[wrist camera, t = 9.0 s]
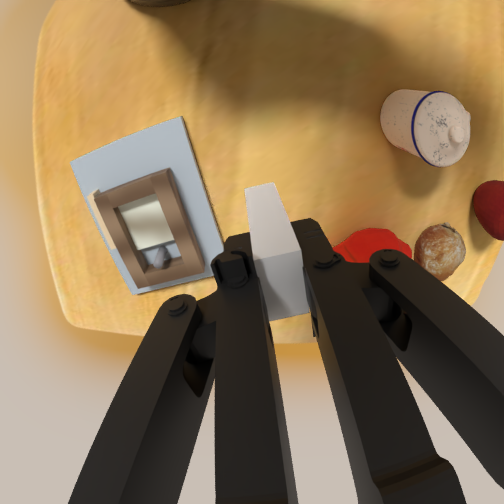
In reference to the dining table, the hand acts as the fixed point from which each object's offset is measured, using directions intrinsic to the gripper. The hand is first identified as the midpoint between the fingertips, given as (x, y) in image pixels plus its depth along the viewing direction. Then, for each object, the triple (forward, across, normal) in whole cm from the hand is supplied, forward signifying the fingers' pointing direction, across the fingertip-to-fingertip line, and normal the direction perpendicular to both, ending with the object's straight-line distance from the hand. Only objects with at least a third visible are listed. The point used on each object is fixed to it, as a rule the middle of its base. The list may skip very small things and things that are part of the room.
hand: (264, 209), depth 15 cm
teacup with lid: (+23, +24, 0) cm, 33 cm away
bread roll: (+22, +28, -23) cm, 43 cm away
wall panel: (+22, -14, -7) cm, 27 cm away
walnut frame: (+20, -14, -8) cm, 26 cm away
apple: (+23, +39, -15) cm, 47 cm away
